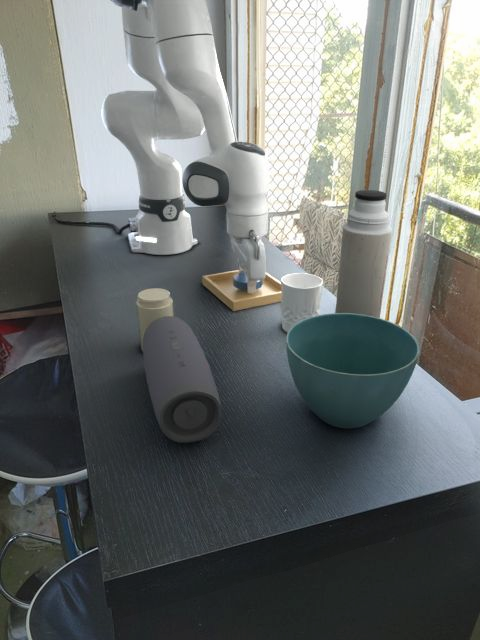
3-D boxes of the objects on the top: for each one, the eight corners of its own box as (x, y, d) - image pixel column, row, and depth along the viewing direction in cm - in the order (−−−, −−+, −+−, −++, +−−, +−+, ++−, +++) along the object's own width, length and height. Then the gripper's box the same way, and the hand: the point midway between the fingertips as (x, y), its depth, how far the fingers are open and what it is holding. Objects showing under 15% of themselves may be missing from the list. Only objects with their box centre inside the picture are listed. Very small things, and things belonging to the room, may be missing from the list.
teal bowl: (319, 465, 68) (327, 386, 62) (263, 393, 82) (265, 323, 76) (431, 433, 74) (448, 358, 68) (361, 371, 89) (370, 305, 83)
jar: (135, 344, 96) (130, 291, 91) (166, 336, 99) (162, 284, 94) (149, 358, 91) (144, 304, 86) (181, 349, 94) (178, 296, 89)
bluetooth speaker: (227, 444, 71) (226, 382, 66) (158, 456, 69) (152, 393, 64) (197, 362, 90) (195, 310, 85) (142, 369, 88) (136, 316, 83)
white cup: (323, 322, 105) (327, 276, 100) (313, 340, 98) (317, 290, 94) (285, 316, 107) (287, 270, 102) (274, 333, 101) (275, 284, 96)
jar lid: (268, 283, 119) (268, 276, 118) (252, 292, 114) (252, 285, 113) (243, 277, 122) (243, 270, 121) (227, 286, 117) (227, 278, 116)
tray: (202, 284, 122) (202, 275, 121) (257, 274, 128) (258, 266, 127) (233, 311, 109) (233, 302, 108) (293, 299, 115) (293, 290, 114)
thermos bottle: (375, 339, 99) (396, 188, 86) (375, 359, 92) (397, 199, 79) (333, 334, 101) (347, 185, 87) (330, 354, 94) (344, 195, 80)
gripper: (274, 238, 103) (272, 302, 110) (251, 211, 120) (251, 268, 127) (243, 239, 102) (242, 304, 108) (224, 212, 119) (225, 270, 126)
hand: (247, 285), depth 118 cm, fingers closed on jar lid, 6 cm apart
